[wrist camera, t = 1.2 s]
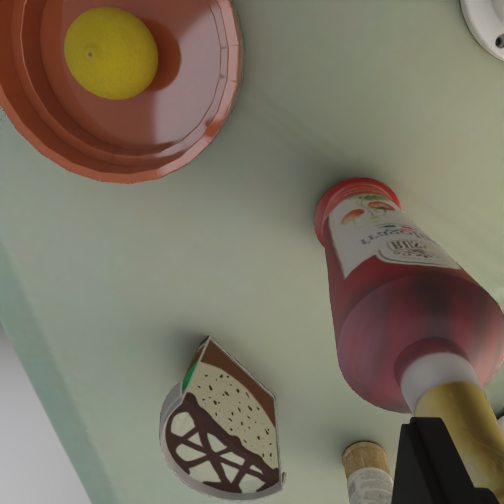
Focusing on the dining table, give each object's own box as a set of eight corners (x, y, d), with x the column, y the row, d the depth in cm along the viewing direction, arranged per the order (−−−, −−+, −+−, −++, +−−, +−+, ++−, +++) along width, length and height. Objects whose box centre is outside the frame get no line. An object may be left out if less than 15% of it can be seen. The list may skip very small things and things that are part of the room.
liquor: (304, 251, 39) (355, 624, 13) (317, 166, 36) (412, 430, 10) (390, 260, 39) (611, 655, 13) (409, 176, 36) (740, 466, 10)
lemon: (80, 32, 33) (23, 24, 26) (148, -1, 32) (109, -19, 25) (116, 107, 35) (73, 119, 27) (182, 78, 34) (155, 83, 26)
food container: (153, 360, 44) (119, 439, 35) (198, 325, 42) (175, 398, 33) (239, 436, 47) (230, 527, 38) (285, 406, 45) (286, 494, 36)
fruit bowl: (80, -136, 29) (39, -177, 24) (288, 20, 32) (291, 12, 27) (-10, 88, 35) (-58, 93, 30) (174, 204, 38) (158, 226, 33)
